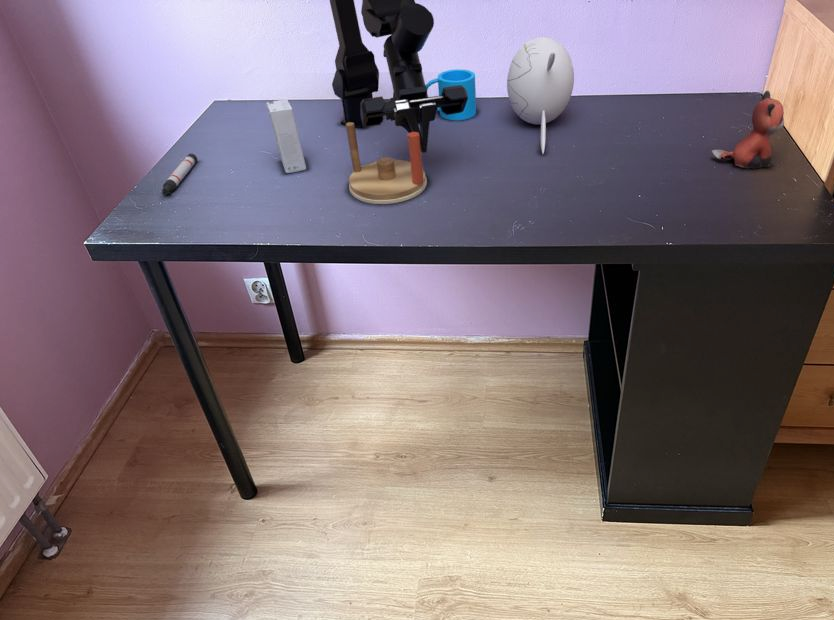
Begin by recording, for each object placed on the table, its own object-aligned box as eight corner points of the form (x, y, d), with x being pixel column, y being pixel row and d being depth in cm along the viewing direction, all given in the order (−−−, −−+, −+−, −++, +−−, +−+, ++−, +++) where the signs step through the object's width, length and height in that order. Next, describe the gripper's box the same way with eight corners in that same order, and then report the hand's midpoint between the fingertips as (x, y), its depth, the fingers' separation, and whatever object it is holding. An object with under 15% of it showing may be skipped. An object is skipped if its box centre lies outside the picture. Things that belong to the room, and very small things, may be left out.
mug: (478, 106, 150) (477, 69, 145) (473, 120, 144) (472, 82, 139) (426, 105, 152) (423, 69, 146) (420, 119, 146) (416, 82, 140)
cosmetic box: (307, 170, 129) (294, 108, 121) (284, 174, 128) (269, 112, 120) (302, 157, 133) (289, 97, 125) (280, 161, 132) (265, 101, 124)
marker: (189, 162, 133) (186, 153, 132) (198, 162, 133) (195, 153, 132) (159, 199, 122) (156, 189, 121) (170, 199, 122) (166, 189, 121)
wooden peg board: (343, 172, 125) (334, 121, 119) (413, 159, 129) (408, 108, 122) (358, 205, 115) (350, 151, 109) (435, 190, 118) (430, 136, 112)
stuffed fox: (706, 153, 127) (719, 90, 119) (765, 152, 127) (782, 88, 119) (716, 171, 121) (730, 106, 114) (778, 169, 121) (797, 104, 113)
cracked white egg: (509, 29, 140) (511, 48, 119) (574, 32, 140) (587, 52, 119) (503, 120, 150) (503, 153, 129) (563, 123, 150) (573, 157, 129)
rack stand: (333, 194, 121) (333, 191, 120) (378, 162, 130) (378, 159, 129) (399, 210, 115) (398, 207, 115) (441, 176, 124) (441, 173, 124)
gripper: (449, 83, 127) (467, 160, 126) (352, 96, 123) (371, 176, 122) (458, 52, 116) (478, 136, 115) (352, 66, 112) (372, 153, 111)
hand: (424, 152), depth 116 cm, fingers closed
